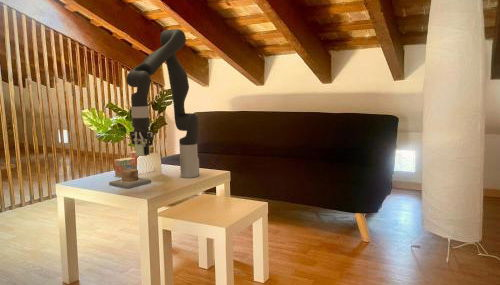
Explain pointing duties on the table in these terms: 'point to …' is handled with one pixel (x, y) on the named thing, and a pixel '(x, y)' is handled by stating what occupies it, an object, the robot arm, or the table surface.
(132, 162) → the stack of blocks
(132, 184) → the base plate
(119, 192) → the table surface
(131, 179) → the walnut block
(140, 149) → the sage block
